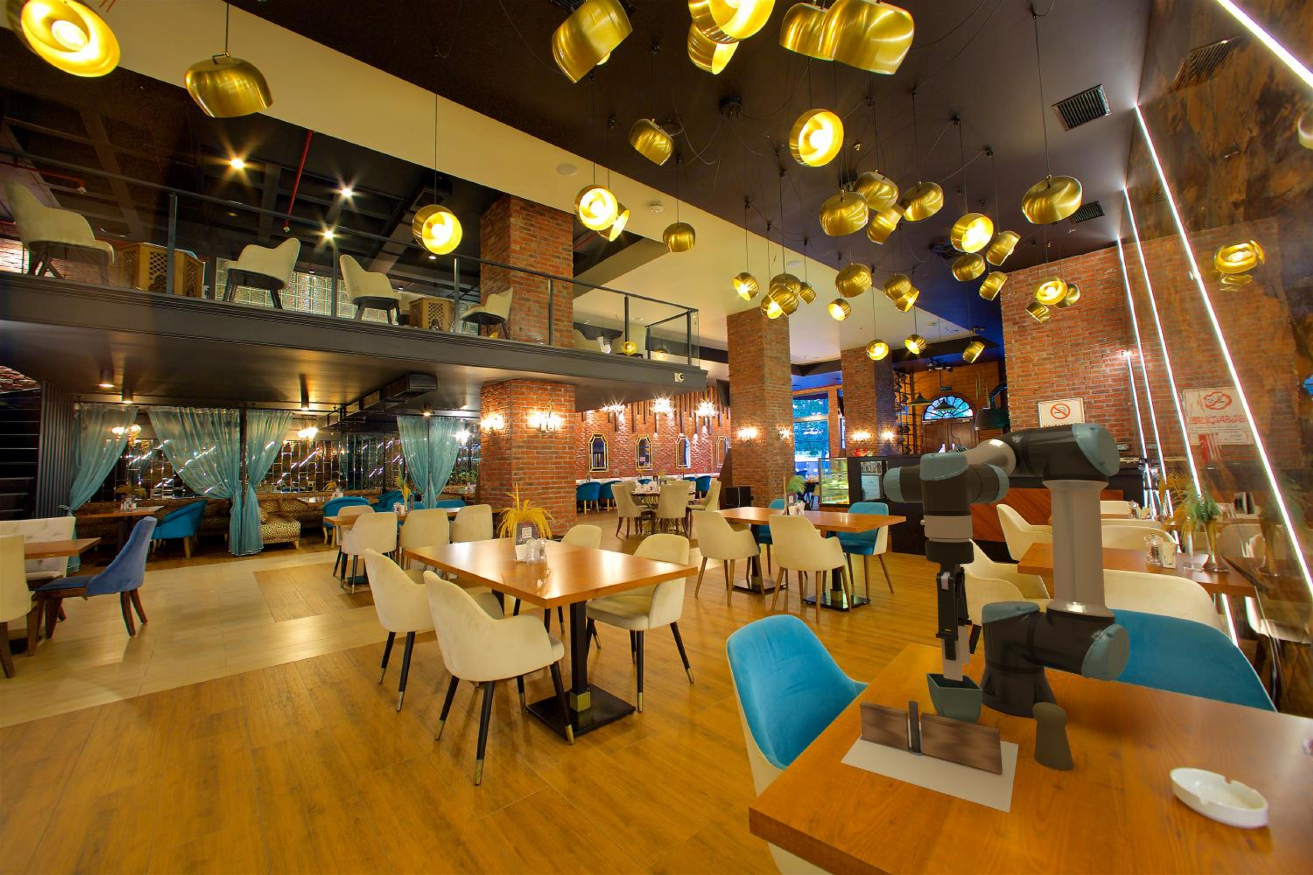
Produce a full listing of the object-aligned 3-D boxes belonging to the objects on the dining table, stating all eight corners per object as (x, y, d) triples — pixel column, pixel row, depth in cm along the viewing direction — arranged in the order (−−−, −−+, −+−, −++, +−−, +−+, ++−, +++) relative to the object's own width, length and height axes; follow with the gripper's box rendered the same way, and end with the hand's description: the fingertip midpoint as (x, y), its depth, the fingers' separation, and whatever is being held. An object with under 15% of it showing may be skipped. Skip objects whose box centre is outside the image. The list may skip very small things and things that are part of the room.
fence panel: (922, 753, 99) (920, 715, 99) (924, 749, 100) (922, 712, 101) (1001, 773, 91) (998, 733, 92) (1002, 769, 93) (999, 729, 93)
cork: (1067, 761, 97) (1062, 700, 98) (1081, 779, 92) (1075, 713, 93) (1029, 757, 99) (1024, 696, 100) (1040, 773, 94) (1035, 709, 95)
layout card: (1019, 749, 102) (1018, 744, 102) (1009, 819, 81) (1009, 811, 81) (878, 716, 118) (878, 711, 118) (840, 767, 97) (840, 761, 97)
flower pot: (987, 734, 108) (983, 689, 109) (940, 731, 110) (937, 686, 111) (970, 716, 117) (967, 674, 118) (928, 713, 119) (925, 672, 120)
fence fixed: (921, 750, 100) (918, 701, 101) (919, 754, 99) (916, 704, 100) (864, 735, 107) (862, 689, 108) (861, 739, 105) (859, 692, 106)
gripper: (935, 533, 104) (943, 650, 102) (912, 544, 87) (921, 685, 85) (980, 534, 100) (989, 657, 98) (964, 546, 83) (974, 695, 80)
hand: (957, 670), depth 91 cm, fingers open, 9 cm apart
